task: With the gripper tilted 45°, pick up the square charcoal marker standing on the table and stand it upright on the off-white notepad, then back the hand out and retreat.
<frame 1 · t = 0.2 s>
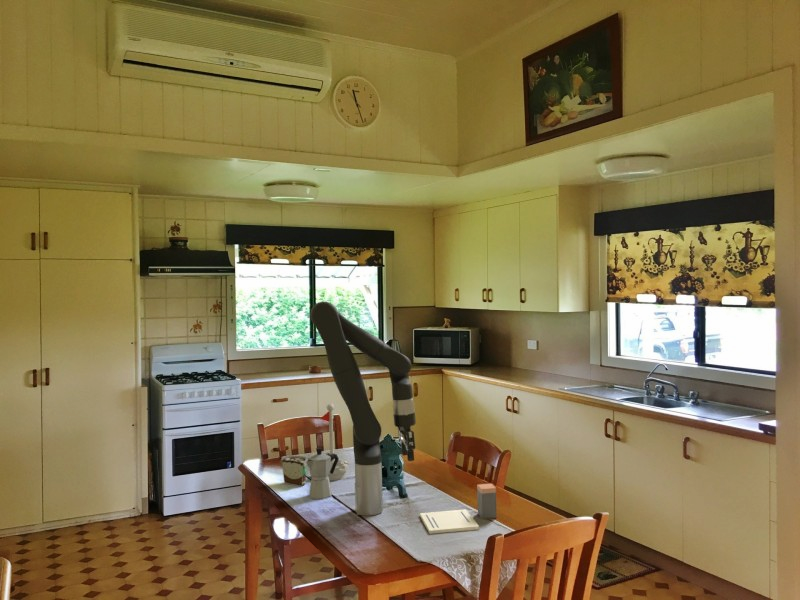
hand: (408, 457, 233), 18 cm above the table, tool pointing down, fingers open, 8 cm apart
food container: (298, 483, 267), on the table
coffee maker: (323, 495, 251), on the table
marker: (487, 515, 224), on the table
notepad: (448, 522, 218), on the table
flag stand: (332, 476, 274), on the table
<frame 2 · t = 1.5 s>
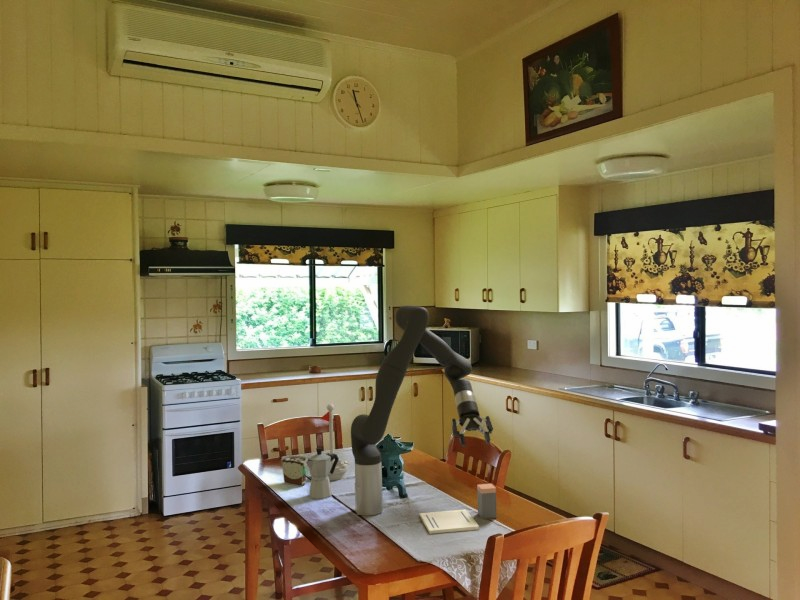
hand: (476, 444, 234), 21 cm above the table, tool tilted 45°, fingers open, 8 cm apart
nothing on the table moved.
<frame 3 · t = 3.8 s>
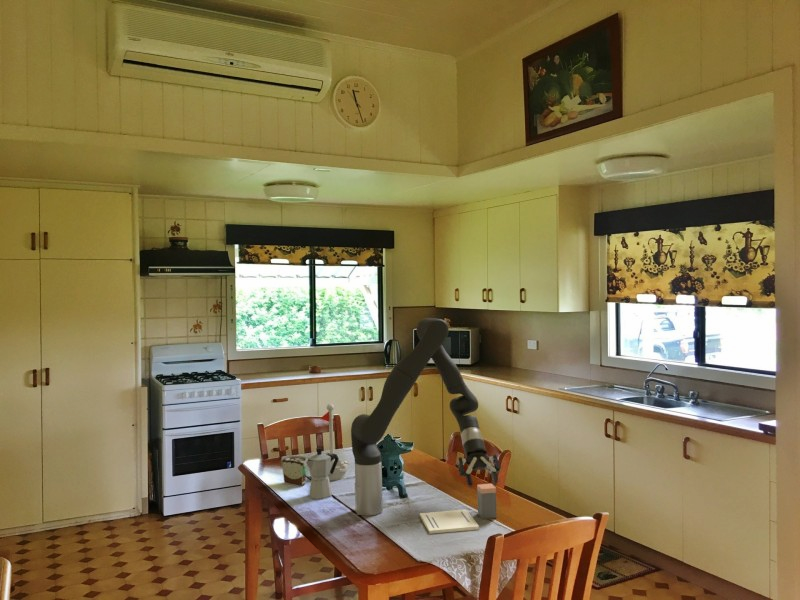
hand: (483, 484, 227), 9 cm above the table, tool tilted 45°, fingers open, 8 cm apart
nothing on the table moved.
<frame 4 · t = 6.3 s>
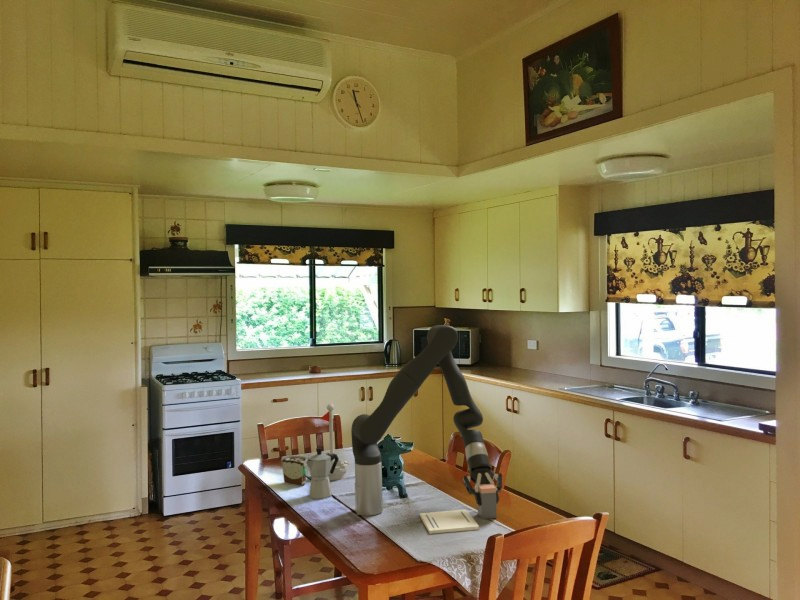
hand: (488, 503, 222), 5 cm above the table, tool tilted 45°, fingers closed on marker, 5 cm apart
marker: (487, 515, 224), on the table, touching gripper
everything else where it was.
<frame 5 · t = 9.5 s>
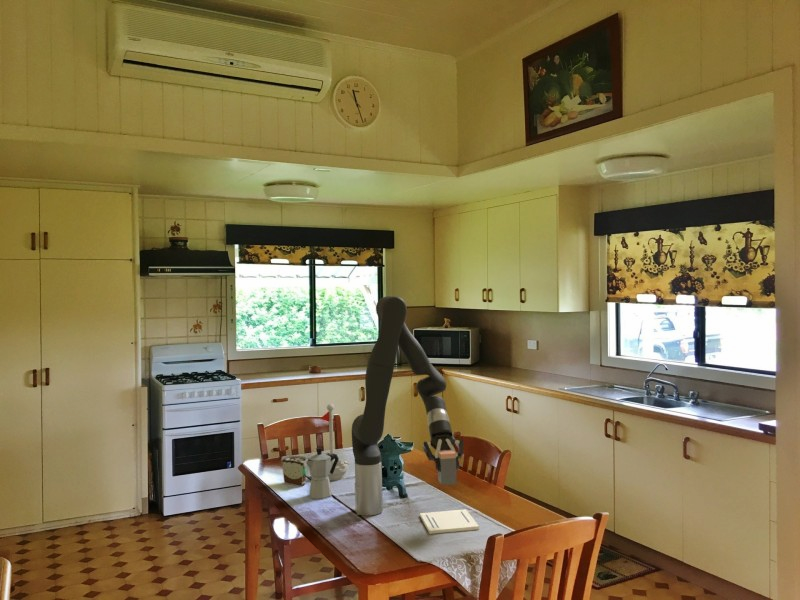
hand: (448, 469, 216), 18 cm above the table, tool tilted 45°, fingers closed on marker, 5 cm apart
marker: (447, 482, 218), point 13 cm above the table, touching gripper
everything else where it was.
when the fingers open (7 cm above the table, at t = 12.9 s): marker drops 1 cm, resting on notepad.
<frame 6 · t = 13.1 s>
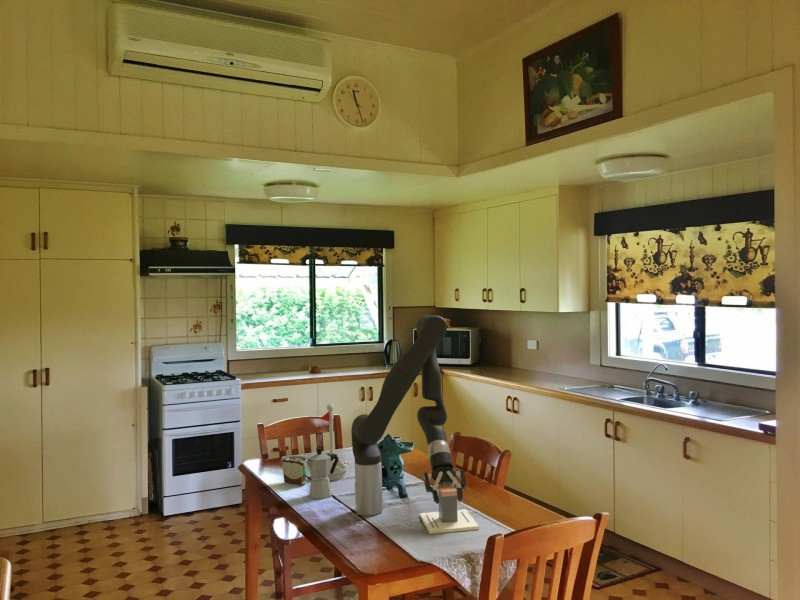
hand: (449, 501, 217), 7 cm above the table, tool tilted 45°, fingers open, 7 cm apart
marker: (448, 519, 218), point 1 cm above the table, touching notepad
everything else where it was.
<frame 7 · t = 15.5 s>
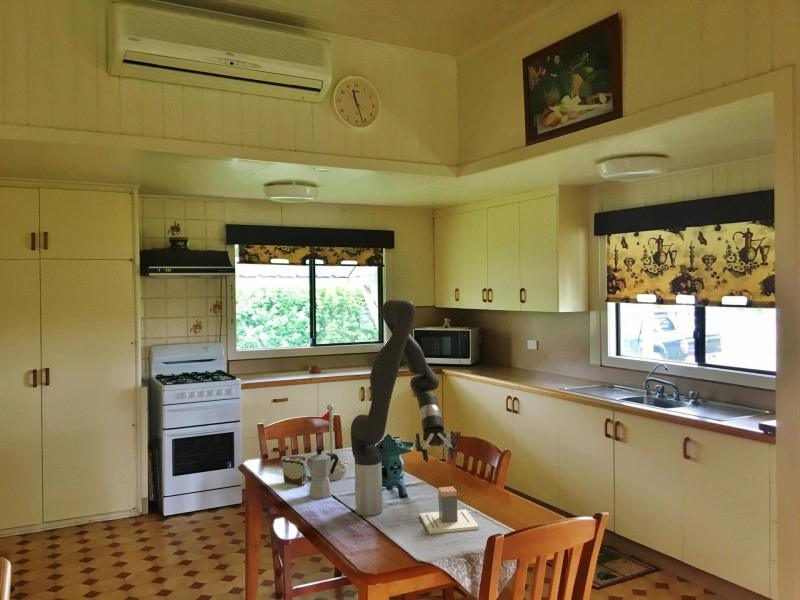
hand: (439, 460, 229), 18 cm above the table, tool tilted 45°, fingers open, 8 cm apart
nothing on the table moved.
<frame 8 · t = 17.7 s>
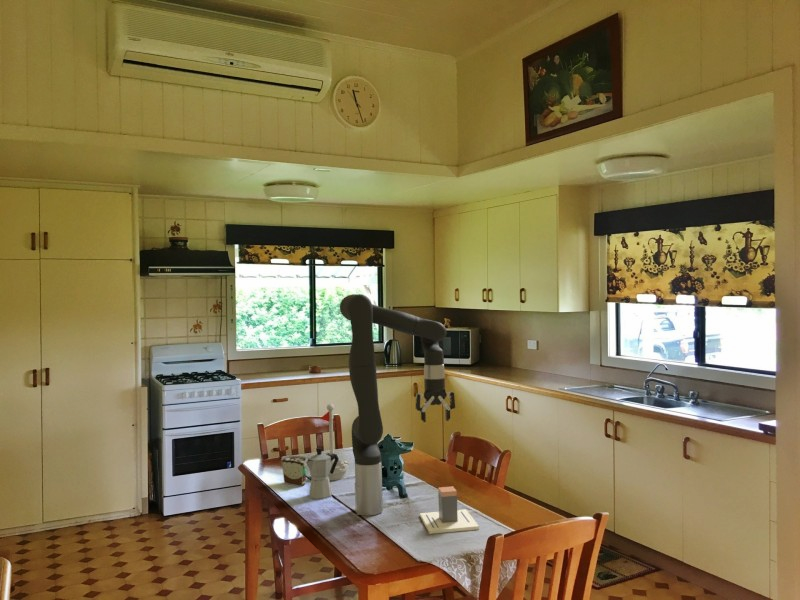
hand: (435, 421, 243), 28 cm above the table, tool pointing down, fingers open, 8 cm apart
nothing on the table moved.
at the end: marker inside the target area on the notepad (0.1 cm from its centre), point 1.0 cm above the notepad's base; marker tilted 0°; the gripper is holding nothing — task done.
